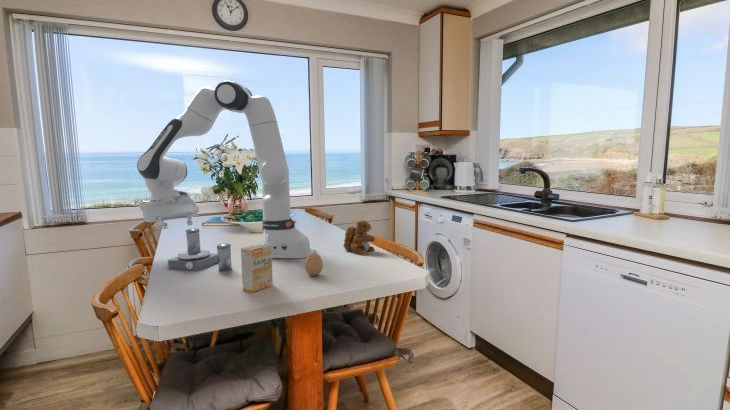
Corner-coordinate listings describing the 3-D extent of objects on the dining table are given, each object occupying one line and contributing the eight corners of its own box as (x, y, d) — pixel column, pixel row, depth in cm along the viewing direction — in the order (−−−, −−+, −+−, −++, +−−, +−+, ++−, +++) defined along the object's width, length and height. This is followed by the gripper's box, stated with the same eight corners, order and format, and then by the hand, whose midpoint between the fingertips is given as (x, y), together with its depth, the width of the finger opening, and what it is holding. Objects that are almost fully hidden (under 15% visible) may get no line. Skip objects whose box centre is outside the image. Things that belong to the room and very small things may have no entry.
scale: (220, 261, 147) (219, 252, 147) (197, 270, 135) (196, 261, 135) (191, 259, 151) (191, 250, 150) (167, 268, 139) (166, 259, 138)
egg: (301, 275, 129) (301, 252, 128) (317, 271, 132) (316, 249, 131) (310, 279, 124) (309, 256, 123) (326, 275, 128) (325, 252, 127)
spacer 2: (234, 267, 138) (233, 243, 137) (226, 271, 134) (225, 246, 133) (223, 267, 140) (222, 243, 138) (215, 270, 135) (213, 245, 134)
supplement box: (253, 293, 113) (251, 249, 111) (242, 290, 115) (239, 247, 113) (273, 285, 120) (271, 244, 118) (262, 282, 122) (260, 242, 120)
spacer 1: (203, 251, 144) (202, 228, 143) (195, 255, 140) (193, 230, 139) (193, 251, 146) (191, 228, 144) (184, 254, 141) (182, 230, 140)
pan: (216, 252, 146) (216, 250, 146) (196, 260, 136) (196, 257, 136) (192, 251, 150) (192, 248, 149) (171, 258, 139) (170, 256, 139)
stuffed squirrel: (366, 256, 152) (365, 223, 151) (337, 251, 160) (336, 220, 158) (378, 250, 161) (377, 219, 159) (350, 246, 168) (349, 217, 166)
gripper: (139, 196, 144) (151, 224, 139) (193, 192, 159) (205, 217, 154) (135, 207, 148) (147, 235, 142) (188, 202, 163) (201, 227, 158)
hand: (178, 226), depth 149 cm, fingers open, 8 cm apart
